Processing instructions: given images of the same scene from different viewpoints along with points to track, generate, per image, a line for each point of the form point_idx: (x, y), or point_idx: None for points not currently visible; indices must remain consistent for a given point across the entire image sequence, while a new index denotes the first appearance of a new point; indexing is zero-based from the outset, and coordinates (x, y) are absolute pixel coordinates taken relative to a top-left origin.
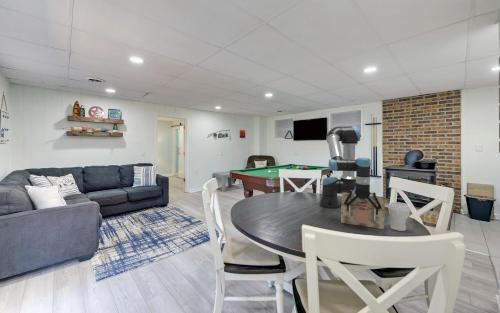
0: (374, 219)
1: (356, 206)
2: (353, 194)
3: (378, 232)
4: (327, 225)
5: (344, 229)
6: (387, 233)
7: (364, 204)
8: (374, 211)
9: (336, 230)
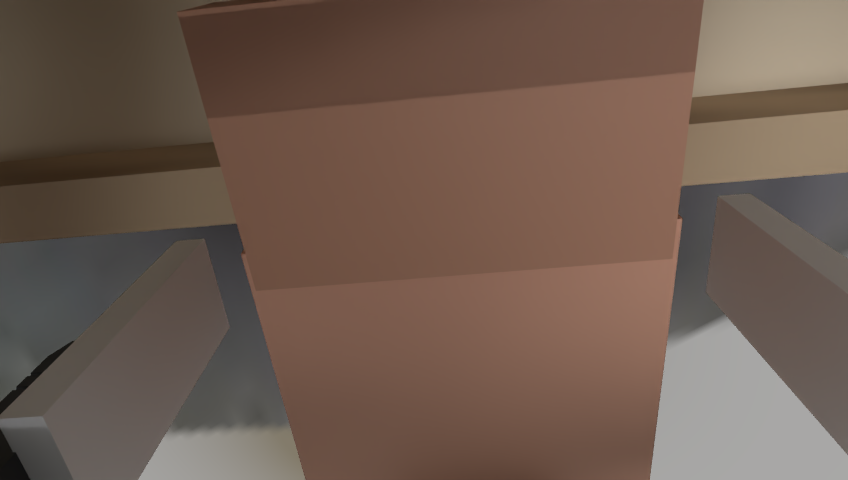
0: (723, 299)
1: None
2: None
3: (692, 232)
4: (12, 338)
5: (253, 358)
6: (820, 203)
7: (570, 152)
8: (842, 440)
9: (183, 431)
